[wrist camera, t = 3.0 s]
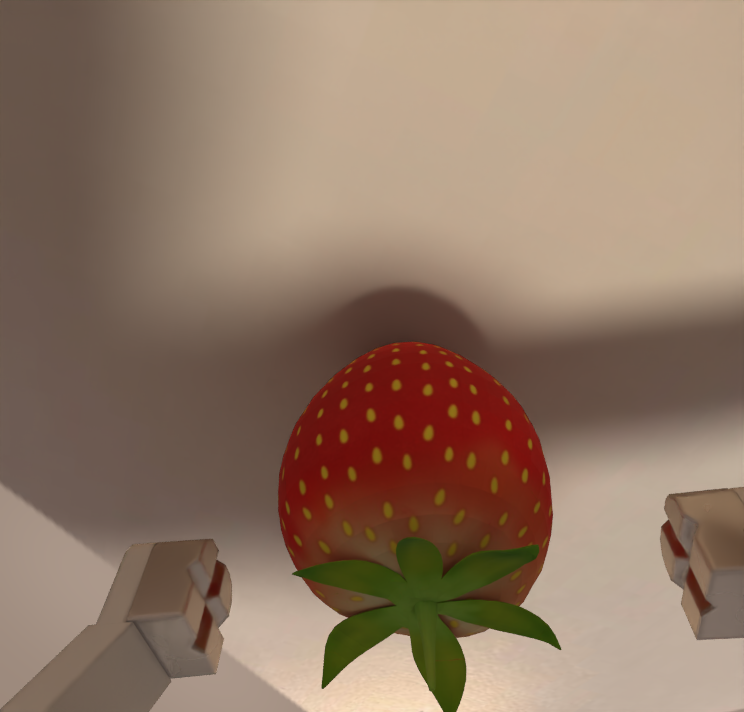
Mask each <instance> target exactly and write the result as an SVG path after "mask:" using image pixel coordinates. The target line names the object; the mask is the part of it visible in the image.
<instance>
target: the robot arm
mask: <svg viewBox="0 0 744 712" xmlns="http://www.w3.org/2000/svg"><path fill="white" fill-rule="evenodd" d="M664 510H665V512H666V514H667V517H668V519H669V520H668V521H667V522H666V523H664V524H663V525H662V526H661V536H660V542H661V550H662V556H663V560H664V563H665V566H666V569H667V572H668V574H669V576H670V579H671V581H673V582H674V583H675V584H677V585H678V586H679V587H681V588H682V589H683V595H682V601H681V605H682V607H683V609H684V612H685V614H686V616H687V619H688V621H689V623H690V626H691V628H692V630H693V632H694V635H695V637H696V639H697V640H706V639H728V638H744V487H738V488H730V489H728V488H722V489H713V490H704V491H694V492H685V493H676V494H669V495H668V497H667V498H666V500H665V506H664ZM218 552H219V550H218V548H217V546H216V544H215V542H214V540H213V539H200V540H185V541H170V542H157V543H145V544H133V545H132V546H131V547H130V548H129V549H128V550H127V551H126V553H125V555H124V557H123V560H122V562H121V564H120V567H119V569H118V572H117V574H116V577H115V579H114V582H113V584H112V587H111V589H110V592H109V594H108V596H107V599H106V601H105V604H104V606H103V609H102V611H101V614H100V616H99V619H98V621H97V624H96V625H88V626H87V627H86V628H85V629H84V630H83V631H82V632H81V633H80V634H79V635H78V636H77V637H76V638H75V639H74V640H73V641H71V642H70V644H68V645H67V646H66V647H65V648H64V649H63V650H62V651H61V652H60V653H59V654H58V655H57V656H56V657H55V658H54V659H53V660H52V661H51V662H50V663H49V664H47V665H46V666H45V667H44V668H43V669H42V670H41V671H40V672H39V673H38V674H37V675H36V676H35V677H34V678H33V679H32V680H31V681H30V682H28V683H27V684H26V685H25V686H24V687H23V688H22V689H21V690H20V691H19V692H18V693H17V694H16V695H15V696H14V697H13V698H12V699H11V700H10V701H9V702H7V703H6V704H5V705H4V706H3V707H2V708H1V709H0V712H149V711H150V709H151V708H152V707H153V705H154V704H155V703H156V701H157V700H158V699H159V697H160V696H161V695H162V693H163V692H164V691H165V689H166V688H167V687H168V685H169V684H170V683H171V678H181V677H190V676H200V675H211V674H216V671H217V667H218V663H219V658H220V654H221V649H222V645H223V641H224V638H223V636H222V634H221V632H220V630H219V627H220V626H221V624H222V623H223V622H224V621H225V620H226V619H227V618H228V617H229V613H230V608H231V603H232V582H231V578H230V573H229V571H228V569H227V567H226V565H225V564H223V563H221V562H220V561H218V560H217V556H218Z"/></svg>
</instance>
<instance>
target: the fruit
mask: <svg viewBox="0 0 744 712" xmlns="http://www.w3.org/2000/svg"><path fill="white" fill-rule="evenodd" d="M278 512H279V518H280V525H281V531H282V534H283V538H284V541H285V545H286V548H287V550H288V552H289V554H290V557H291V559H292V561H293V563H294V565H295V567H296V569H297V570H298V571H296V572H294V573H292V575H296V576H299V577H302V579H303V580H304V581H305V583H306V584H307V585H308V587H309V588H310V589H311V591H312V592H313V594H315V595H316V596H317V597H318V598H319V599H320V600H321V601H323V602H324V603H325V604H326V605H328V606H329V607H330V608H332V609H333V610H335V611H336V612H337V613H339V614H341V615H343V616H345V617H348V618H347V619H345V620H343V621H342V622H341V623H339V624H338V625H337V626H335V627H334V629H333V630H332V632H331V633H330V634H329V637H328V640H327V643H326V646H325V654H324V666H323V677H322V689H324V688H325V687H326V686H327V685H328V684H329V683H330V682H331V681H332V680H333V679H334V678H335V677H336V676H337V675H338V674H339V673H340V672H341V671H342V670H343V669H344V668H345V667H346V666H347V665H348V664H349V663H351V662H352V661H353V660H354V659H356V658H357V657H358V656H360V655H361V654H363V653H364V652H366V651H367V650H369V649H370V648H372V647H373V646H375V645H376V644H378V643H379V642H381V641H383V640H384V639H386V638H387V637H389V636H390V635H392V634H393V633H397V634H402V635H408V636H410V638H411V646H412V653H413V657H414V660H415V663H416V665H417V667H418V669H419V671H420V673H421V675H422V676H423V678H424V680H425V681H426V683H427V685H428V687H429V691H432V693H433V694H434V696H435V698H436V699H437V701H438V703H439V705H440V706H441V708H442V710H443V712H456V711H457V709H458V706H459V704H460V701H461V698H462V695H463V691H464V687H465V682H466V663H465V658H464V654H463V651H462V649H461V646H460V644H459V642H458V641H457V639H456V638H459V637H467V636H471V635H474V634H477V633H481V632H484V631H486V630H487V629H489V628H490V629H494V630H498V631H503V632H508V633H512V634H517V635H521V636H525V637H530V638H534V639H537V640H540V641H544V642H547V643H549V644H551V645H552V646H554V647H556V648H557V649H559V650H561V647H560V645H559V643H558V640H557V638H556V636H555V634H554V633H553V631H552V630H551V628H550V627H549V625H548V624H546V623H545V622H544V621H543V620H542V619H541V618H540V617H538V616H536V615H535V614H533V613H531V612H530V611H528V610H526V609H524V608H521V607H519V606H520V605H521V604H522V603H523V602H524V600H525V598H526V597H527V595H528V593H529V591H530V589H531V587H532V586H533V584H534V582H535V581H536V579H537V578H538V576H539V574H540V573H541V571H542V568H543V564H544V561H545V557H546V554H547V550H548V546H549V541H550V537H551V530H552V519H553V511H552V499H551V487H550V476H549V473H548V469H547V465H546V462H545V458H544V454H543V451H542V447H541V444H540V440H539V438H538V436H537V434H536V432H535V429H534V427H533V425H532V423H531V422H530V420H529V418H528V417H527V415H526V413H525V412H524V410H523V408H522V407H521V405H520V404H519V403H518V402H517V400H516V399H515V398H514V396H513V395H512V394H511V393H510V392H509V391H508V390H507V389H506V388H505V387H503V386H502V385H501V384H500V383H499V382H498V381H497V380H496V379H495V378H494V377H492V376H491V375H490V374H489V373H487V372H486V371H485V370H483V369H482V368H480V367H478V366H477V365H475V364H474V363H472V362H470V361H469V360H467V359H466V358H464V357H462V356H461V355H459V354H456V353H454V352H452V351H449V350H447V349H444V348H442V347H439V346H436V345H432V344H426V343H420V342H401V343H392V344H389V345H386V346H382V347H379V348H376V349H374V350H372V351H370V352H368V353H366V354H364V355H362V356H361V357H359V358H357V359H355V360H354V361H353V362H351V363H350V364H349V365H347V366H346V367H345V368H343V369H342V370H341V371H339V372H338V373H337V374H335V375H334V376H333V377H332V378H331V380H330V381H329V382H328V383H327V384H326V385H325V386H324V387H323V388H322V389H321V390H320V391H319V392H318V393H317V394H316V395H315V396H314V397H313V399H312V400H311V402H310V403H309V405H308V406H307V408H306V409H305V411H304V412H303V414H302V415H301V417H300V418H299V420H298V421H297V423H296V425H295V427H294V429H293V432H292V434H291V436H290V439H289V442H288V444H287V447H286V450H285V453H284V456H283V460H282V464H281V469H280V473H279V488H278Z"/></svg>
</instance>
